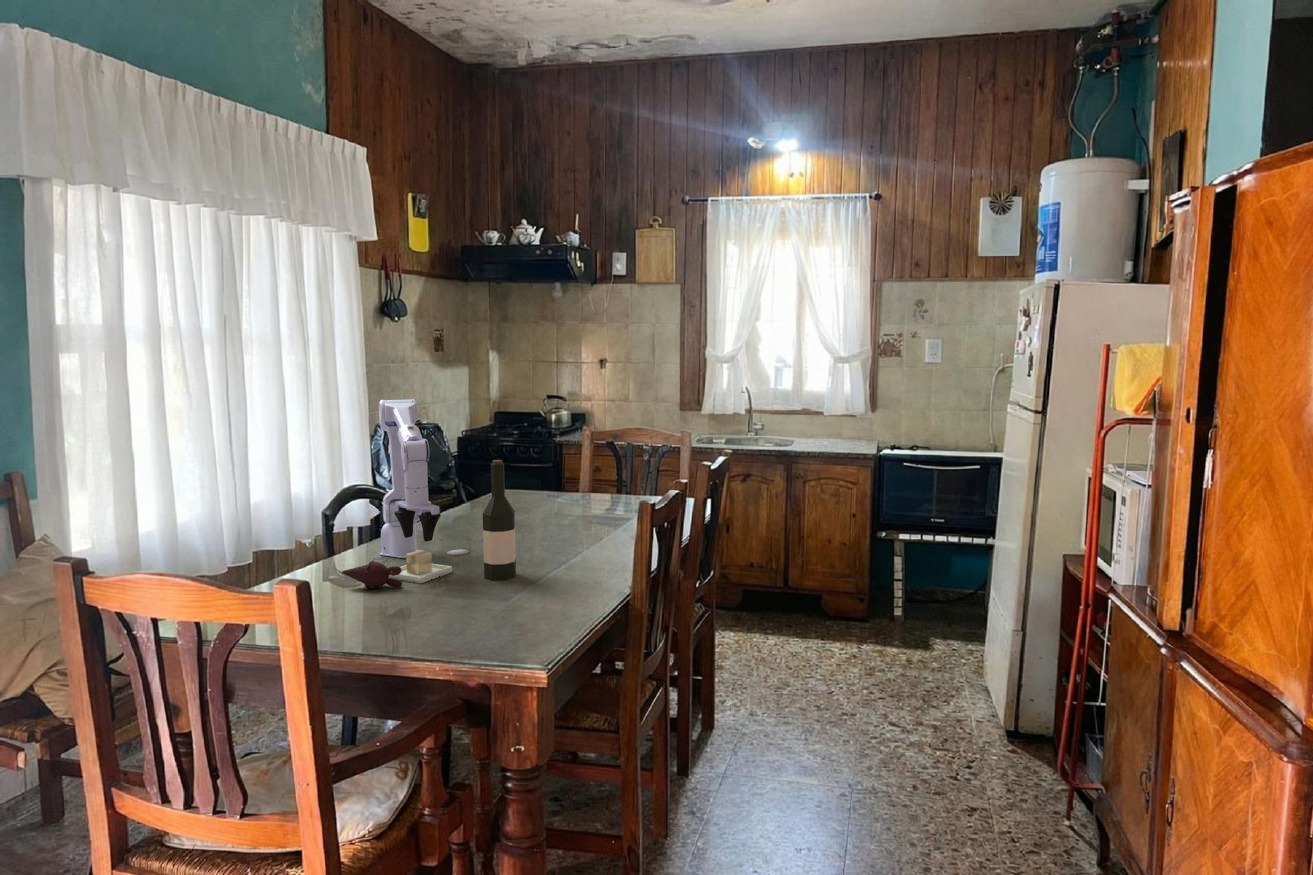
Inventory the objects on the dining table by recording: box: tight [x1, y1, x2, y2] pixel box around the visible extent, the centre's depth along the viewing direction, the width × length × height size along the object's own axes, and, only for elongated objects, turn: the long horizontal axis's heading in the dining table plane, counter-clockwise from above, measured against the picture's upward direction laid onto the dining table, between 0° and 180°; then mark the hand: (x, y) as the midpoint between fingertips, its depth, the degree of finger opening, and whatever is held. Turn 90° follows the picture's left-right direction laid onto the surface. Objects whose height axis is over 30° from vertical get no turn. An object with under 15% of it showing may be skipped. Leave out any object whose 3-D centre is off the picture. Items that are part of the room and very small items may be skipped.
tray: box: [389, 563, 453, 584], centre depth 223 cm, size 12×12×2 cm
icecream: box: [341, 560, 403, 590], centre depth 211 cm, size 7×7×15 cm
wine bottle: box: [482, 459, 517, 582], centre depth 219 cm, size 8×8×30 cm
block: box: [405, 550, 433, 576], centre depth 223 cm, size 4×4×5 cm
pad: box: [447, 548, 470, 556], centre depth 246 cm, size 6×6×1 cm
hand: (418, 538), depth 222 cm, fingers open, 7 cm apart
